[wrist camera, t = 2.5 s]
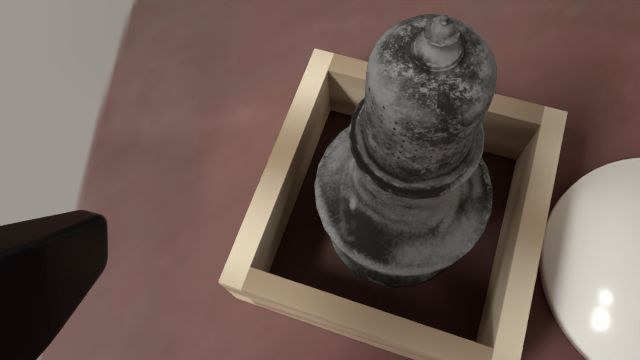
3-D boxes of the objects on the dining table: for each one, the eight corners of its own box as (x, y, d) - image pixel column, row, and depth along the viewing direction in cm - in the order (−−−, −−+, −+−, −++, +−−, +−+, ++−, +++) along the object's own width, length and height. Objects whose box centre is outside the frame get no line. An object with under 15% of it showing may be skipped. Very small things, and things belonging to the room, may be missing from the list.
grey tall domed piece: (465, 154, 22) (587, -102, 10) (475, 298, 19) (643, 167, 8) (323, 152, 22) (295, -97, 11) (316, 292, 20) (272, 160, 9)
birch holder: (490, 386, 18) (515, 384, 15) (236, 298, 20) (218, 282, 17) (539, 148, 21) (567, 111, 19) (319, 90, 23) (314, 48, 20)
